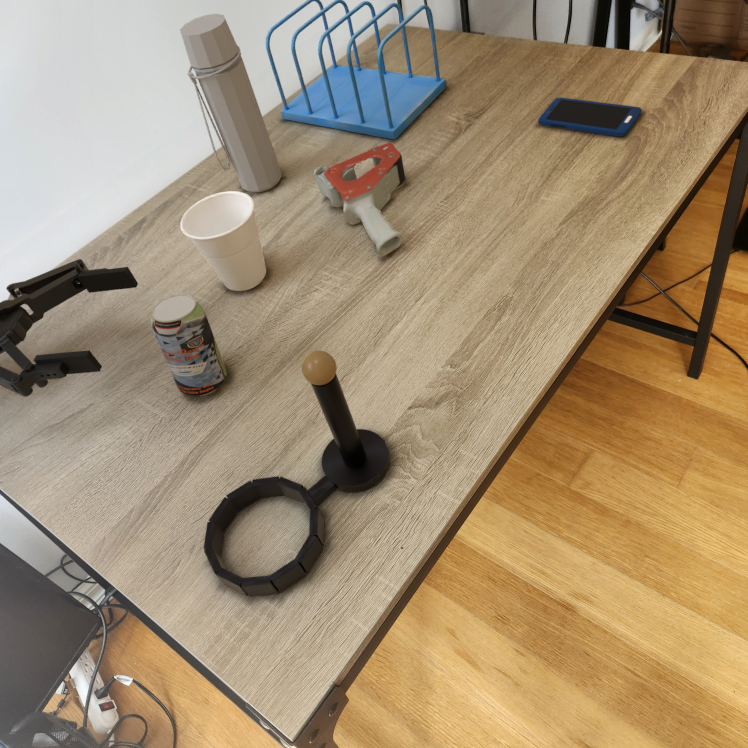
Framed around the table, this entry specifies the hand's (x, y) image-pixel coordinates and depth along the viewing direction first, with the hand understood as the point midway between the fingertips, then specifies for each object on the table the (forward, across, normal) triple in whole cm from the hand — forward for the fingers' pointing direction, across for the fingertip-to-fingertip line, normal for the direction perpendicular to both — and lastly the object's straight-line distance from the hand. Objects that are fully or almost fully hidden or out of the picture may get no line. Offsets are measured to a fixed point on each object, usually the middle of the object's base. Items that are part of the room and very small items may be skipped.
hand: (114, 316), depth 75 cm
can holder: (+22, +20, -10) cm, 31 cm away
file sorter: (+23, -61, -10) cm, 66 cm away
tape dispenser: (+26, -29, -10) cm, 40 cm away
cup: (+9, -16, -10) cm, 21 cm away
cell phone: (+60, -45, -10) cm, 75 cm away
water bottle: (+7, -40, -10) cm, 41 cm away
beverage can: (+8, +2, -10) cm, 13 cm away
